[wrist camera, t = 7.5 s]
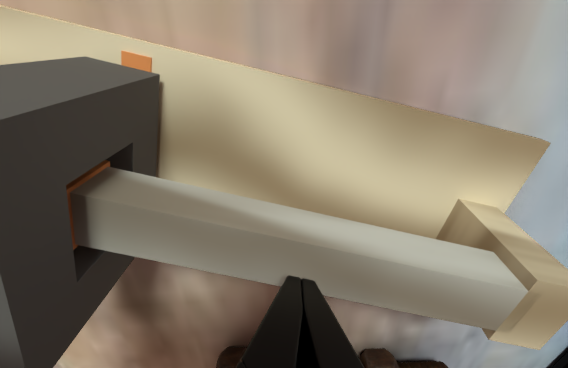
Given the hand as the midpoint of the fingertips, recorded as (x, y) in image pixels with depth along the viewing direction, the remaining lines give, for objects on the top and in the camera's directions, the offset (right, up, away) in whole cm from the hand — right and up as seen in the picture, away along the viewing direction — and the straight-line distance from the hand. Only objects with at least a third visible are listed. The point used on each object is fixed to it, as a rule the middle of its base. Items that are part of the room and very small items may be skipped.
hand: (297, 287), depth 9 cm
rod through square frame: (-3, +4, +6) cm, 7 cm away
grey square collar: (-8, +4, +5) cm, 10 cm away
